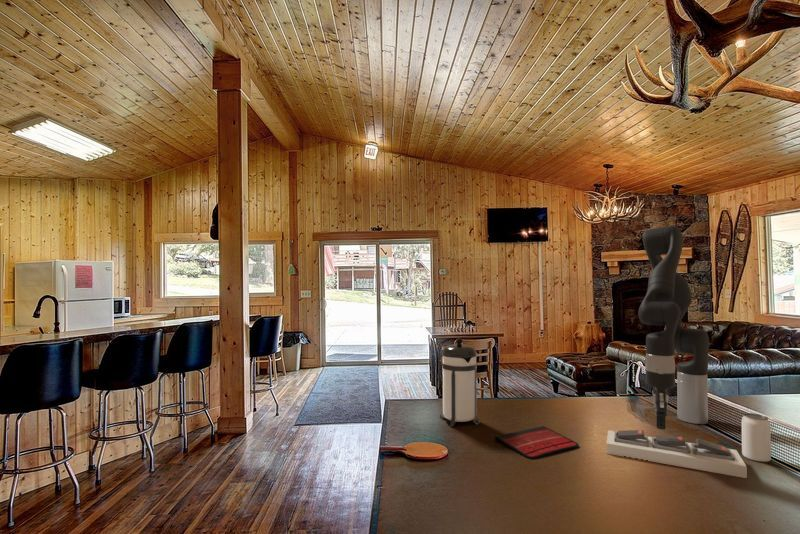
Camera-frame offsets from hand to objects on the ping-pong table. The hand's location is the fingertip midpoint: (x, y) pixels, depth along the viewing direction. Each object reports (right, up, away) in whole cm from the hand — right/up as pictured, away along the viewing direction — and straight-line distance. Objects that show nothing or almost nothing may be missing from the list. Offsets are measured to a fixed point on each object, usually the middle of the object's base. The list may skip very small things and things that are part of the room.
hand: (660, 428), depth 126 cm
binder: (-34, -9, +8) cm, 36 cm away
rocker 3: (+11, -3, -6) cm, 13 cm away
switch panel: (+2, -8, -1) cm, 8 cm away
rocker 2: (+2, -3, -1) cm, 4 cm away
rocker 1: (-7, -3, +3) cm, 8 cm away
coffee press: (-56, -9, +30) cm, 64 cm away
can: (+27, -8, -2) cm, 28 cm away
